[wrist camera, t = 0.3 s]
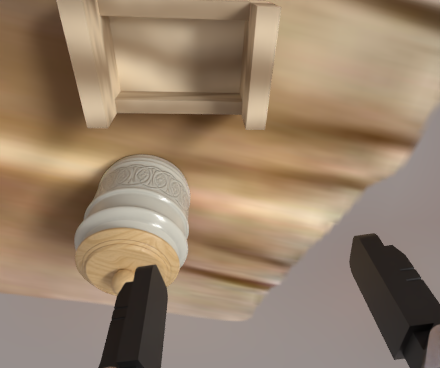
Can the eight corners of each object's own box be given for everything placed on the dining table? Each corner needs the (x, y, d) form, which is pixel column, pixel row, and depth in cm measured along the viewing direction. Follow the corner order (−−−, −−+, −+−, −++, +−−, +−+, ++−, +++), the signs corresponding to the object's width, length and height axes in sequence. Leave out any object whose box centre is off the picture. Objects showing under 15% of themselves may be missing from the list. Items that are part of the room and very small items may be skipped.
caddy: (87, -7, 30) (55, -2, 23) (264, -1, 31) (281, 7, 24) (107, 100, 36) (87, 128, 29) (253, 102, 37) (264, 129, 31)
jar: (208, 184, 44) (211, 286, 30) (158, 233, 50) (141, 338, 35) (132, 134, 39) (93, 228, 24) (86, 194, 44) (30, 300, 30)
